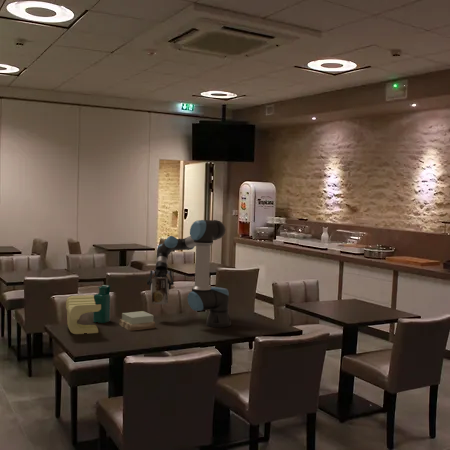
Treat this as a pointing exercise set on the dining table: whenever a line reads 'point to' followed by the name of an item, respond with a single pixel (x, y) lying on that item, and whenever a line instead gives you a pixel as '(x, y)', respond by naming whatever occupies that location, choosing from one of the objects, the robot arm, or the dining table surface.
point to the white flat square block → (137, 317)
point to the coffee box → (159, 290)
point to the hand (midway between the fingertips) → (159, 293)
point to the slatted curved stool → (80, 313)
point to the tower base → (136, 325)
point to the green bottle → (102, 304)
